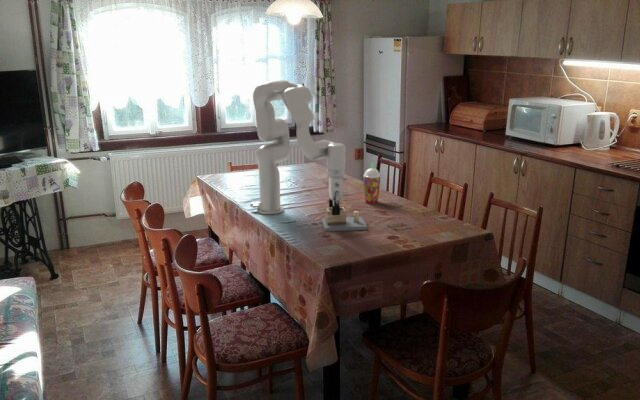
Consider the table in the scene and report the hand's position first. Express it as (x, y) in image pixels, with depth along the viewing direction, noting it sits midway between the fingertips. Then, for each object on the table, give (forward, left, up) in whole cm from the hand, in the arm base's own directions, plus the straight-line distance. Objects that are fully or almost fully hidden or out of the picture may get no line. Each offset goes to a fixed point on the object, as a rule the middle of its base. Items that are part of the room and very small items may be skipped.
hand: (334, 211), depth 231 cm
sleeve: (+1, -1, -5) cm, 5 cm away
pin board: (+4, -1, -7) cm, 8 cm away
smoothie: (+23, +32, -7) cm, 40 cm away
